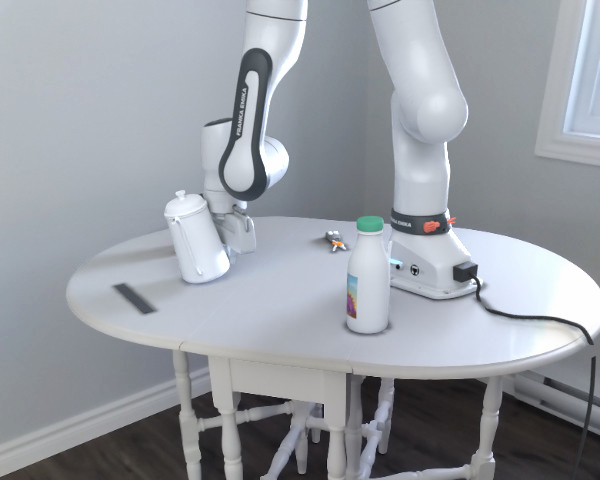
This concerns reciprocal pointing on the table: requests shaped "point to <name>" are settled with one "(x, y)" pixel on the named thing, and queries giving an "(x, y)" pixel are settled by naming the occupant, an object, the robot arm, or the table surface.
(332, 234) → the key chain
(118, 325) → the table surface
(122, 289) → the tape line
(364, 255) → the milk bottle
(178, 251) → the coffeepot
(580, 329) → the robot arm
